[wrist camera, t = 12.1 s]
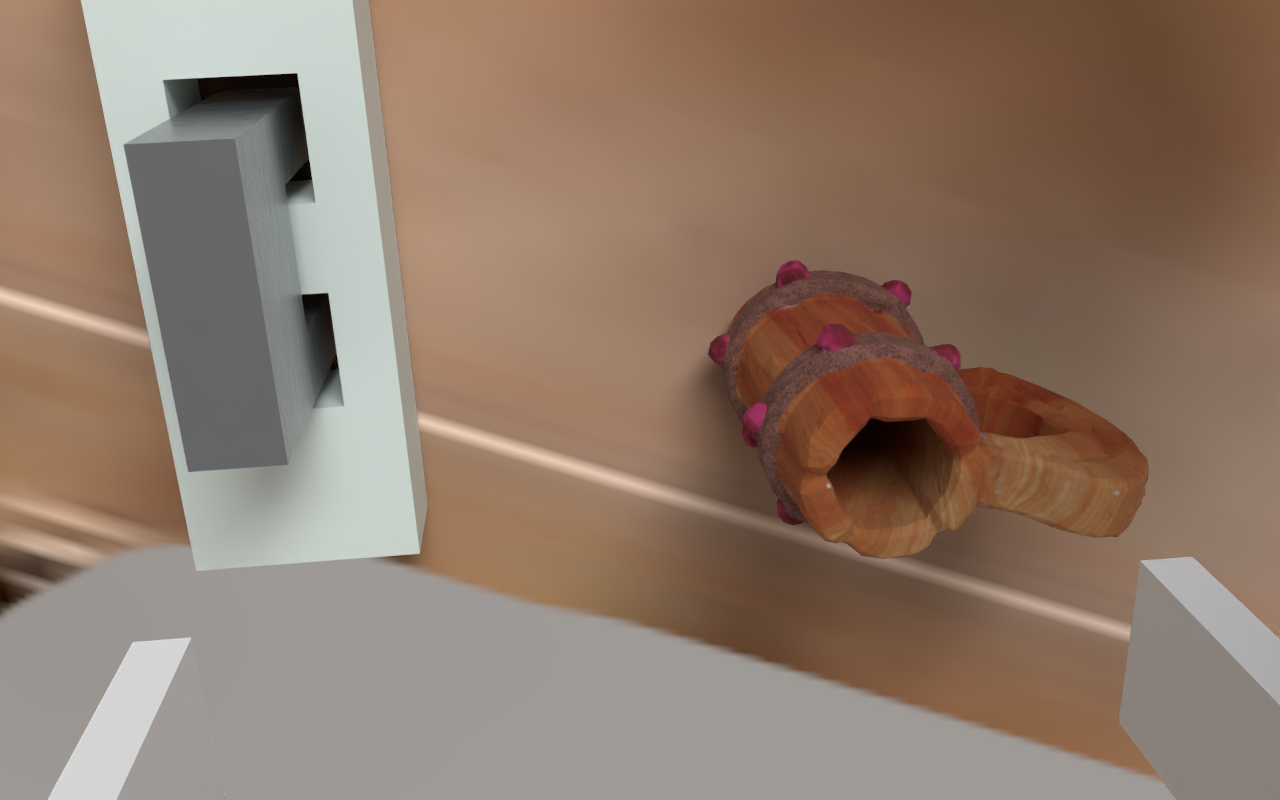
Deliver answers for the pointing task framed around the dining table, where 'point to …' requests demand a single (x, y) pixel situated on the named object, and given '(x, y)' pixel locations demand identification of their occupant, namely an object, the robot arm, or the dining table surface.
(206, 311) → the grey block
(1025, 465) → the mug
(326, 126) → the pale board with holes
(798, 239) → the dining table surface
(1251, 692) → the robot arm
